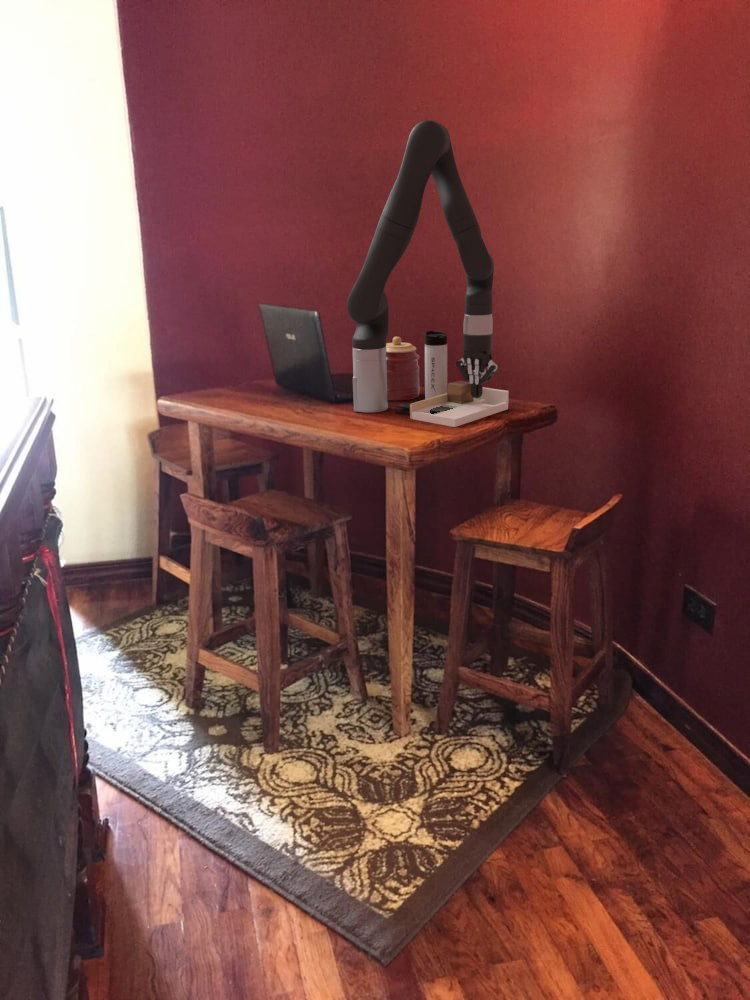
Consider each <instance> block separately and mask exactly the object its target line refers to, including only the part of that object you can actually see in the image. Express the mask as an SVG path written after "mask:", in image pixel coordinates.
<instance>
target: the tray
mask: <svg viewBox="0 0 750 1000" xmlns="http://www.w3.org/2000/svg"><path fill="white" fill-rule="evenodd" d="M509 393H510V392H509V390H504V389H497V388H490V387H483V391H482V396H481V397H480V398H473V401H472V402H468V403H463V404H458V403H453V402H448V392H447V393H446V394H443V395H439V396H436V397H432V398H429V399H425V398H424V399H422V400H419V401H415V402H412V403H409V418H410V419H411V420H415V421H420V422H425V423H431V424H436V425H442V426H446V427H451V428H452V427H453V428H457V427H459V426H462V425H465V424H468V423H471V422H474V421H477V420H480V419H483V418H486V417H488V416H492V415H496V414H497V413H501V412H503V411H506V410H508V409H509ZM440 406H443V407H449V408H453V409H450V410H447V411H440V412H437V413H434V414H431V413H430V410H431V409H433V408H436V407H440Z"/></svg>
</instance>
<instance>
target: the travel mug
mask: <svg viewBox="0 0 750 1000" xmlns="http://www.w3.org/2000/svg"><path fill="white" fill-rule="evenodd" d="M424 341H425V342H424V397H425V398H424V400H425V399H429V398H432V397H436V396H439V395H443V394H446V393H448V334H447V333H445V332H442V331H434V330H427V331H426V332H425V333H424Z"/></svg>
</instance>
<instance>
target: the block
mask: <svg viewBox="0 0 750 1000" xmlns="http://www.w3.org/2000/svg"><path fill="white" fill-rule="evenodd" d="M447 393H448V402H453V403H458V404H463V403H468V402H472V401H473V398H472V395H471V383H470V382H469V381H466V380H464V381H463V380H457V381H452V382H447Z"/></svg>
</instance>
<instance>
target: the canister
mask: <svg viewBox="0 0 750 1000" xmlns="http://www.w3.org/2000/svg"><path fill="white" fill-rule="evenodd" d="M416 351H417V347H416V346H415V345H413V344H412V343H410V342H402V338H401V337H400V336H394V337H393V338H392V342H386V356H387V399H388V401H396V402H397V401H408V400H409V401H410V400H414V399H417V398H419V396H420V392H421V390H420V389H421V388H420V366H419V364H418V362H419V359H420V355H419V354H418V353H416Z"/></svg>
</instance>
